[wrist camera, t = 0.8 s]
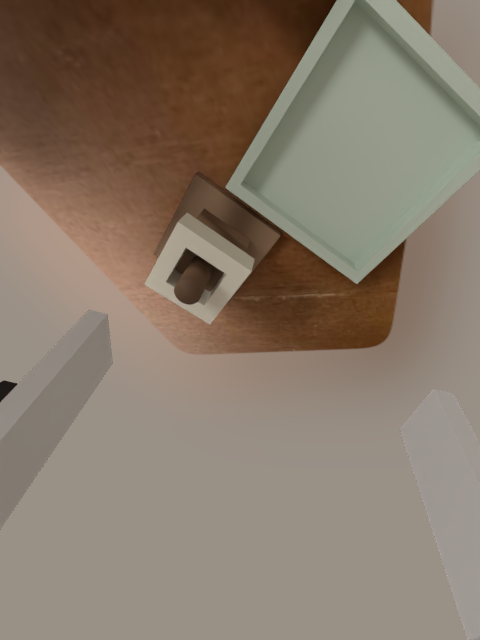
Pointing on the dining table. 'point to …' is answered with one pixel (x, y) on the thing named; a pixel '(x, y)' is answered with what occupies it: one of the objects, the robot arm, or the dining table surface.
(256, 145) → the tray
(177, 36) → the dining table surface
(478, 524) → the robot arm
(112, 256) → the dining table surface
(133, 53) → the dining table surface
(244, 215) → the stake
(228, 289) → the ring
